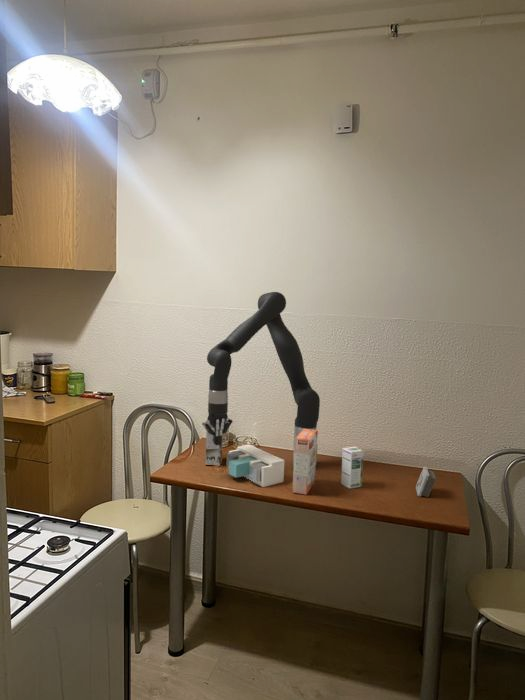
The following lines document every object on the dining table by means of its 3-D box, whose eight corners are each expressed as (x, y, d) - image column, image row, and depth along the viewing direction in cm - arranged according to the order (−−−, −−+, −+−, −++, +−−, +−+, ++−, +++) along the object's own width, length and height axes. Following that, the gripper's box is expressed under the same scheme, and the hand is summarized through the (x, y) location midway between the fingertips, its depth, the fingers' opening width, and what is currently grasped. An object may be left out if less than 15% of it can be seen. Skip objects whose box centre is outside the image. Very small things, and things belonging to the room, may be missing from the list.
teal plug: (249, 468, 206) (250, 456, 205) (257, 472, 202) (257, 460, 201) (228, 473, 200) (229, 461, 199) (235, 477, 196) (236, 464, 195)
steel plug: (269, 472, 202) (269, 460, 202) (277, 476, 198) (277, 464, 198) (248, 477, 196) (248, 464, 195) (256, 481, 192) (256, 468, 192)
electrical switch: (415, 487, 198) (419, 464, 196) (429, 490, 197) (433, 467, 196) (417, 497, 189) (422, 473, 187) (432, 500, 188) (436, 476, 186)
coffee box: (220, 466, 212) (221, 428, 210) (204, 466, 212) (205, 428, 210) (222, 459, 221) (223, 422, 219) (207, 458, 221) (208, 422, 220)
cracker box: (307, 495, 186) (310, 439, 184) (291, 493, 188) (294, 437, 185) (315, 482, 199) (318, 429, 197) (300, 480, 201) (303, 427, 199)
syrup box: (349, 489, 194) (352, 451, 192) (340, 483, 199) (342, 447, 197) (361, 487, 196) (364, 450, 195) (352, 481, 202) (354, 445, 200)
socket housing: (248, 464, 217) (249, 444, 215) (283, 481, 198) (284, 460, 197) (228, 468, 210) (229, 448, 209) (262, 487, 192) (263, 464, 191)
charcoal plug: (246, 461, 214) (247, 449, 213) (253, 465, 210) (254, 453, 209) (226, 465, 208) (226, 453, 207) (233, 469, 204) (233, 457, 203)
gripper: (227, 397, 205) (225, 439, 208) (198, 400, 197) (197, 444, 200) (237, 401, 200) (236, 444, 202) (208, 404, 192) (207, 450, 194)
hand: (217, 444), depth 201 cm, fingers closed
